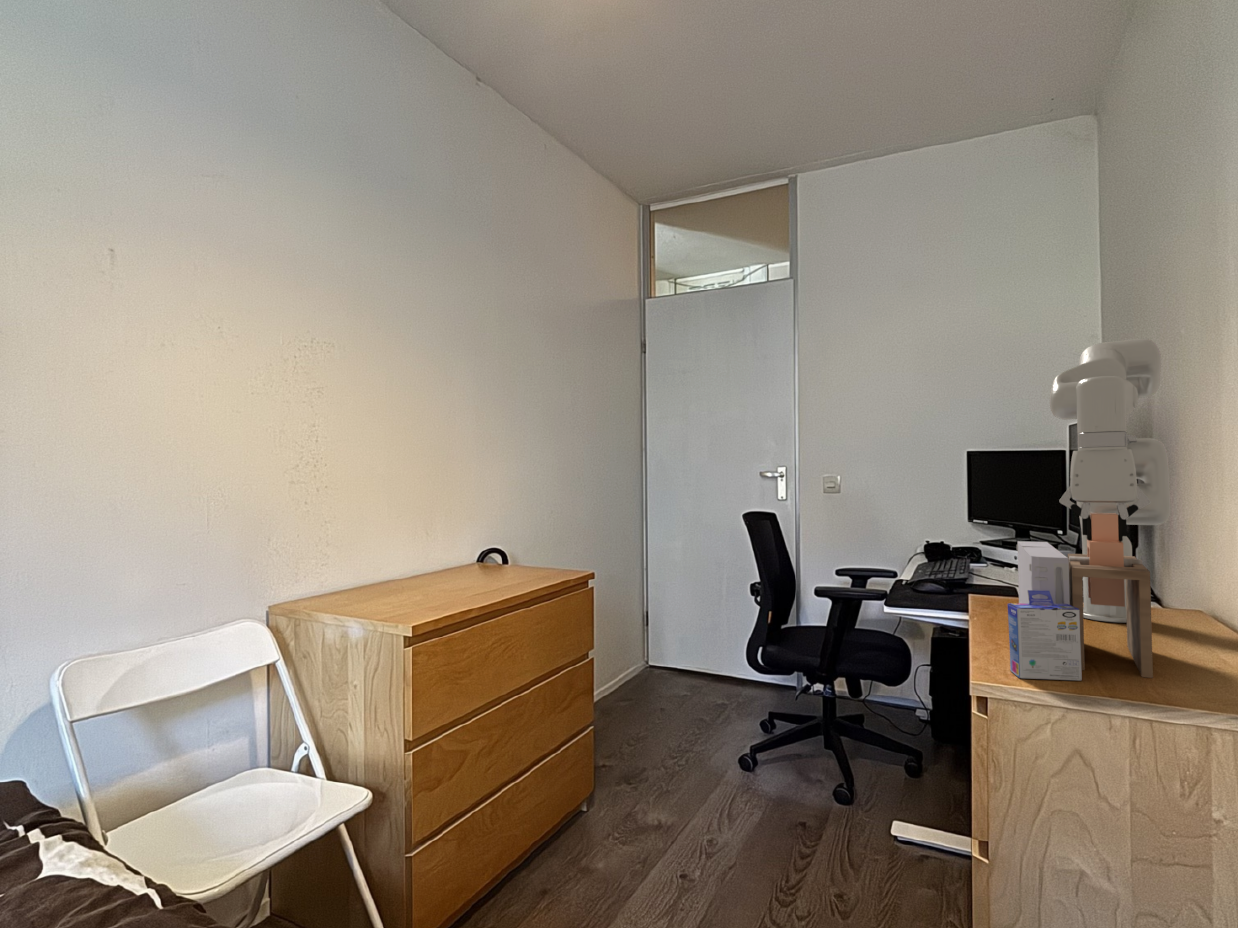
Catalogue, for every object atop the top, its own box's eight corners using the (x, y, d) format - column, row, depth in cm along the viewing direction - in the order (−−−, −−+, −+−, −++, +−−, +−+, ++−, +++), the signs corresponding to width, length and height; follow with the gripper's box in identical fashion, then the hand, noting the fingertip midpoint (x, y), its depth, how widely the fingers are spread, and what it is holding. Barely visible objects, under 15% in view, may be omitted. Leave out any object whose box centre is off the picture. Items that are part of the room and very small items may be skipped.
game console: (1033, 666, 121) (1030, 556, 121) (1018, 632, 145) (1016, 541, 146) (1071, 670, 118) (1068, 557, 119) (1049, 634, 143) (1047, 542, 143)
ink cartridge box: (1069, 672, 117) (1067, 589, 117) (1084, 682, 112) (1082, 595, 112) (1007, 669, 119) (1005, 588, 119) (1019, 679, 114) (1017, 594, 114)
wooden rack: (1069, 640, 138) (1067, 549, 138) (1136, 647, 132) (1134, 552, 132) (1074, 668, 119) (1071, 563, 119) (1152, 677, 113) (1150, 567, 113)
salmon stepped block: (1088, 596, 130) (1086, 512, 131) (1120, 598, 128) (1117, 512, 128) (1091, 604, 123) (1088, 514, 123) (1124, 606, 120) (1122, 515, 121)
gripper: (1155, 441, 124) (1158, 539, 124) (1048, 444, 133) (1051, 536, 133) (1161, 440, 118) (1164, 543, 118) (1049, 443, 127) (1051, 540, 127)
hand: (1104, 538), depth 126 cm, fingers closed on salmon stepped block, 4 cm apart
